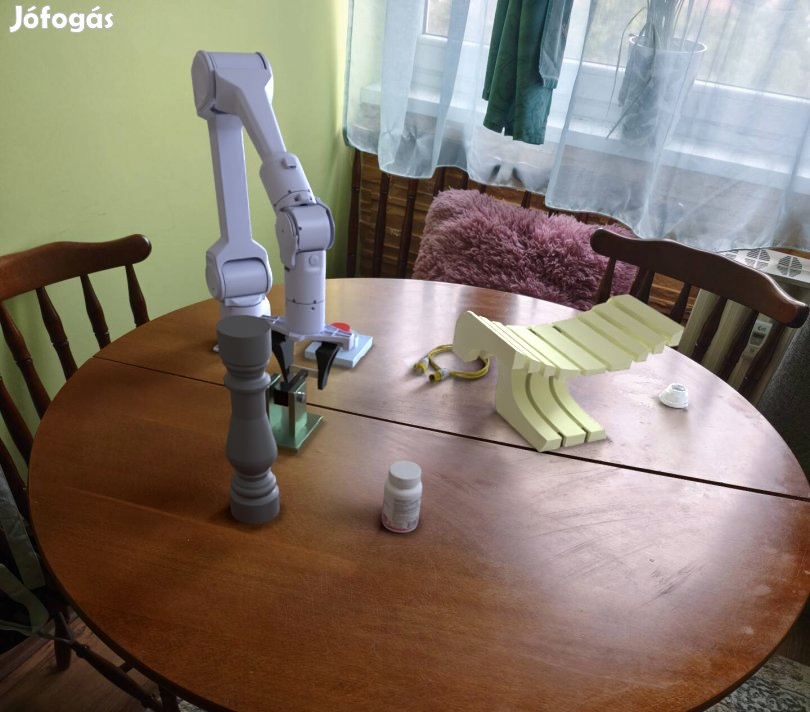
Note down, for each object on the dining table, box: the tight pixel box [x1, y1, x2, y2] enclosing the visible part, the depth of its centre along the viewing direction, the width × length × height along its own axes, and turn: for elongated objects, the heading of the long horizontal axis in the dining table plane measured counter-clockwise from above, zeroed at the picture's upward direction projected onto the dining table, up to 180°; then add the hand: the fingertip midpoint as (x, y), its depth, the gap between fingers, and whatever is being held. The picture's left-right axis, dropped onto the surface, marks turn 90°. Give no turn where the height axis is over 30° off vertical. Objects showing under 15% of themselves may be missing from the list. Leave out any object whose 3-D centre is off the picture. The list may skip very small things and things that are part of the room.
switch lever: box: [274, 364, 318, 408], centre depth 103 cm, size 10×5×2 cm, turn 164°
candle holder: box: [215, 315, 281, 525], centre depth 81 cm, size 6×6×25 cm
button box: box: [304, 327, 373, 369], centre depth 125 cm, size 11×9×4 cm
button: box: [330, 322, 351, 333], centre depth 123 cm, size 4×4×2 cm
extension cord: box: [413, 343, 490, 384], centre depth 125 cm, size 12×16×2 cm
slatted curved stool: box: [451, 294, 686, 453], centre depth 108 cm, size 30×16×18 cm, turn 115°
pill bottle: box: [381, 460, 423, 534], centre depth 87 cm, size 5×5×8 cm
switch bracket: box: [265, 372, 324, 454], centre depth 101 cm, size 10×8×8 cm
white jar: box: [658, 383, 690, 409], centre depth 122 cm, size 5×3×5 cm
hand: (305, 383), depth 107 cm, fingers closed on switch lever, 5 cm apart
